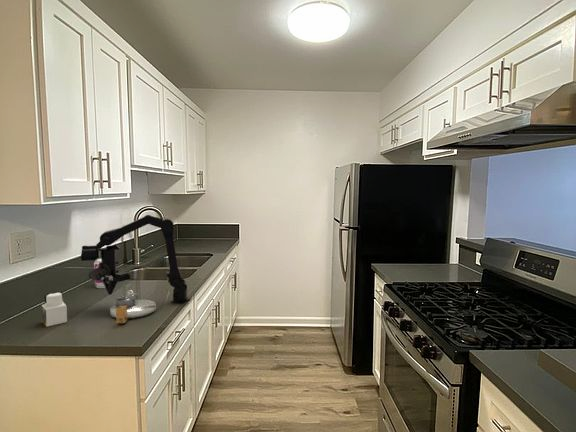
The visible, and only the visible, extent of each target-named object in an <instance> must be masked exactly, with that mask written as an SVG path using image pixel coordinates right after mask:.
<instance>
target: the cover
mask: <svg viewBox="0 0 576 432" xmlns="http://www.w3.org/2000/svg"><path fill="white" fill-rule="evenodd" d="M114 302H115V303H114V305H115V307H116V308H117V307H118V306H127V308H128V307H132V306H134V305H135V304H136V303H135V296H127V295H123V296H118V297H116V298H115V300H114Z"/></svg>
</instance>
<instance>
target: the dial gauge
mask: <svg viewBox="0 0 576 432" xmlns="http://www.w3.org/2000/svg"><path fill="white" fill-rule="evenodd" d="M125 296H135V300H139V293H137V292H136V293H135V292H134V291H133V290H132V289H129V290H127V291H126V295H125Z"/></svg>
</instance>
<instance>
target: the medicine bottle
mask: <svg viewBox="0 0 576 432" xmlns="http://www.w3.org/2000/svg"><path fill="white" fill-rule="evenodd" d="M63 295H64V294H63V292H61V291H51V292H47V293H46V294H45V295H44V297H43V298H44V304H41V315H42V323H43V325H44V326H45V327H47V328H48V327H51V326H56V325H59V324H60V325H61V324H64V323H67V322H68V309H67V304H66V303H65V302H64V299H63V297H64V296H63Z"/></svg>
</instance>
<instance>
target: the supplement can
mask: <svg viewBox="0 0 576 432" xmlns="http://www.w3.org/2000/svg"><path fill="white" fill-rule="evenodd" d="M99 263H101V258H97V261H94V263H93V268H94V269H96V268H98V267H99ZM94 269H93V270H94ZM111 276H112V275H111ZM94 287H95V288H97V289H106V287H105V285H104V284H103V283H102V282H101V281H99V280H94Z"/></svg>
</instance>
